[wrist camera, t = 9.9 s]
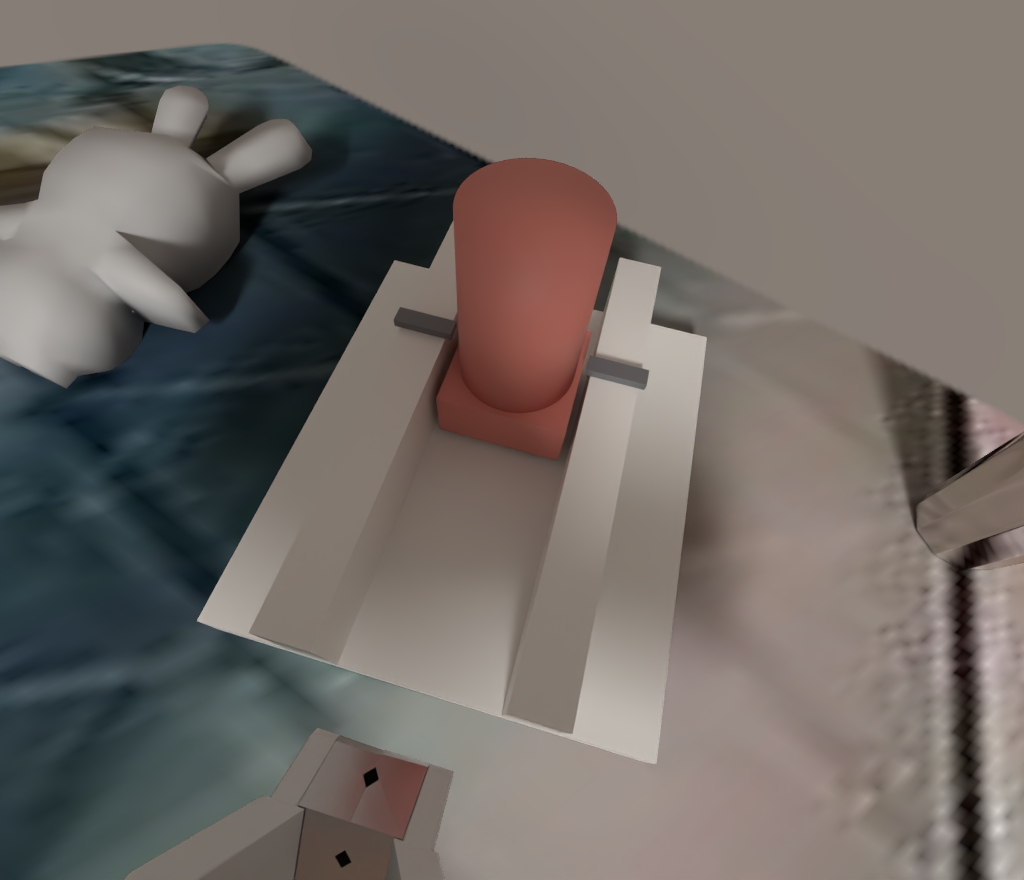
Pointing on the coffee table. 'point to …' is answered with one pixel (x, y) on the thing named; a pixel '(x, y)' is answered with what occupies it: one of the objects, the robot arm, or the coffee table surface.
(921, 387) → the coffee table surface
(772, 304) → the coffee table surface
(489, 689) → the white slider track base
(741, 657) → the coffee table surface
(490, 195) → the red plug
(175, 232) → the bunny figurine
